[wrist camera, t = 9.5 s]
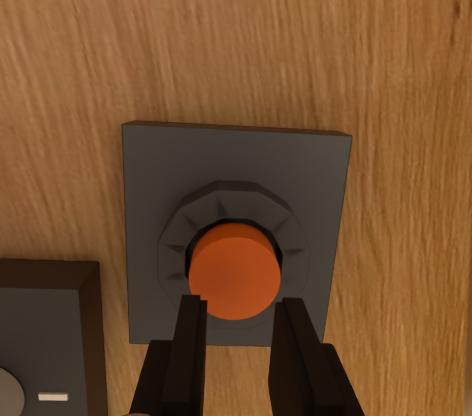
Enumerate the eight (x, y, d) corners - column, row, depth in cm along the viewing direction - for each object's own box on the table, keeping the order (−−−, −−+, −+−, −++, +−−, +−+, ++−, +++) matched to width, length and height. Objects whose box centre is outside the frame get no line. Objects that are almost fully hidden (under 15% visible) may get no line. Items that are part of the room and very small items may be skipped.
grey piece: (133, 120, 18) (108, 126, 14) (337, 131, 18) (369, 140, 14) (138, 319, 21) (119, 369, 17) (312, 323, 21) (332, 373, 18)
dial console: (-96, 255, 19) (-155, 284, 16) (99, 261, 20) (77, 291, 17) (-56, 433, 23) (-98, 485, 20) (109, 435, 23) (92, 486, 20)
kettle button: (192, 220, 15) (189, 235, 14) (278, 223, 16) (284, 239, 14) (191, 296, 16) (187, 319, 15) (271, 298, 17) (276, 321, 15)
